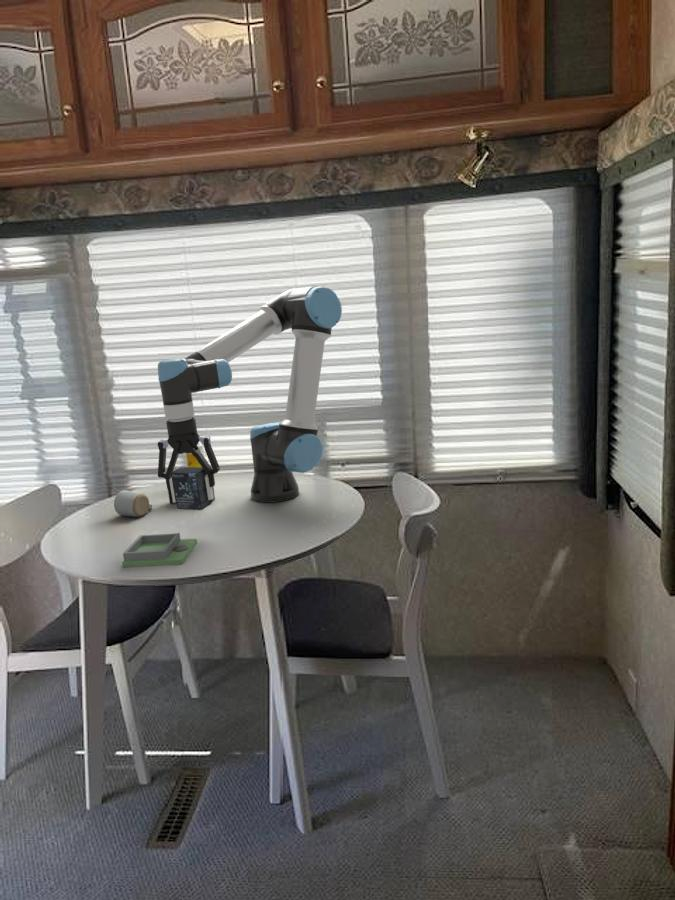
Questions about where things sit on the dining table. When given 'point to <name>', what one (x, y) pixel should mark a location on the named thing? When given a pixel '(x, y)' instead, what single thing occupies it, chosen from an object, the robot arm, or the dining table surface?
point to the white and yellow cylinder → (191, 459)
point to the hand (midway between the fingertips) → (193, 499)
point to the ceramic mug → (131, 503)
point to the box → (190, 488)
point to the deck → (158, 550)
